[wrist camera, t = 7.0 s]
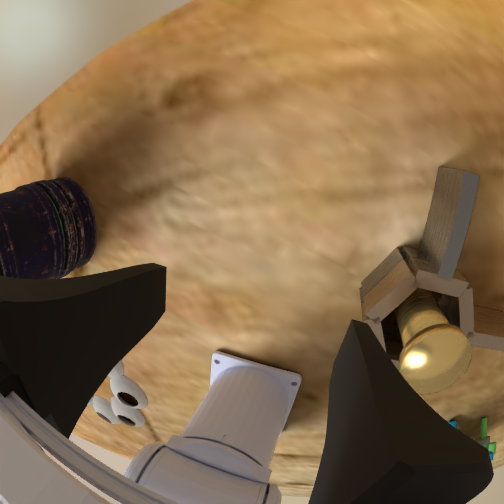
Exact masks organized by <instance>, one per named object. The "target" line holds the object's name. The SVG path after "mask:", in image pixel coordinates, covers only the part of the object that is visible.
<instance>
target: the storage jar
mask: <svg viewBox="0 0 504 504" xmlns="http://www.w3.org/2000/svg"><path fill="white" fill-rule="evenodd" d="M95 244H96V224H95V218H94V214H93V210H92V207H91V204H90V202H89V199H88V197H87V195H86V194H85V192H84V191H83V189H82V188H81V187H80V186H79V185H78V184H77V183H76V182H75V181H73V180H71V179H69V178H57V179H54V180H41V181H37V182H33V183H30V184H27V185H23V186H19V187H17V188H16V189H15V190H13V191H9V192H5V193H1V194H0V276H5V277H11V278H21V279H60V278H62V277H64V276H66V275H68V274H69V273H70V272H71V271H73V270H75V269H76V268H79V267H81V266H83V265H85V264H86V263H87V262H88V261H89V260H90V258H91V257H92V255H93V252H94V249H95Z"/></svg>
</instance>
